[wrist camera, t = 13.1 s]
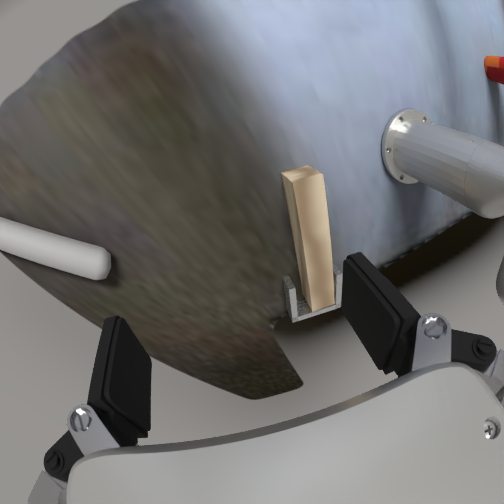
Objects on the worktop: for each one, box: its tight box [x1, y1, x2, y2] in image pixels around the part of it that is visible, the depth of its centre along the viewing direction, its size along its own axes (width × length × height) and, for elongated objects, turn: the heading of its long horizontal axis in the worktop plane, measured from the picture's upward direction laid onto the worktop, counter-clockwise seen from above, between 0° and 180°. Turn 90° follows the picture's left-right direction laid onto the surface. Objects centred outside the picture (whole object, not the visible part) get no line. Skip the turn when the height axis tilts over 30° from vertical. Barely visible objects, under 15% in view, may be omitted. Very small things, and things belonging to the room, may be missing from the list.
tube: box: [0, 217, 111, 280], centre depth 30 cm, size 5×5×25 cm
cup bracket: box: [283, 262, 342, 322], centre depth 45 cm, size 9×8×4 cm
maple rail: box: [281, 166, 335, 312], centre depth 40 cm, size 4×22×5 cm, turn 14°
